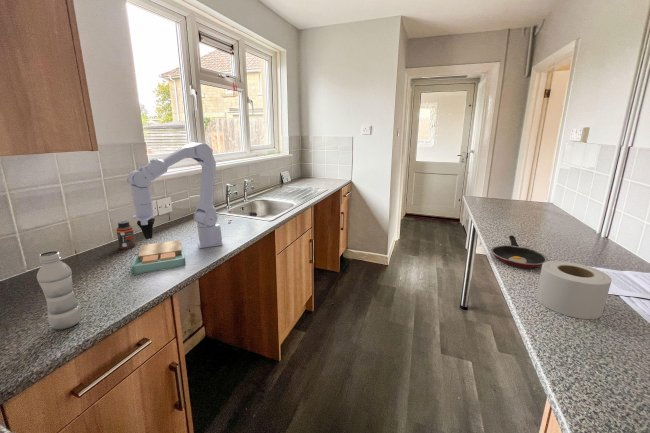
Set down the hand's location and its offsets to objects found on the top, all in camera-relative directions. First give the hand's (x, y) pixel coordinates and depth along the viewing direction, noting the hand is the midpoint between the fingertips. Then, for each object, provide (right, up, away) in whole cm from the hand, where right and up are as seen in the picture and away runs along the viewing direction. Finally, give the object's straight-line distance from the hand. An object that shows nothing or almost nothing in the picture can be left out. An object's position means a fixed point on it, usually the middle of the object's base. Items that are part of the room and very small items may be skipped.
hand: (148, 238), depth 115 cm
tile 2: (+6, -8, +2) cm, 10 cm away
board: (-1, -7, +10) cm, 12 cm away
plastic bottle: (0, -20, -36) cm, 41 cm away
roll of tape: (+138, -18, -26) cm, 142 cm away
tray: (+5, -10, -1) cm, 11 cm away
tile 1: (+1, -8, -1) cm, 8 cm away
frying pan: (+145, -8, +9) cm, 146 cm away
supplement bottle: (-19, -5, +17) cm, 26 cm away
